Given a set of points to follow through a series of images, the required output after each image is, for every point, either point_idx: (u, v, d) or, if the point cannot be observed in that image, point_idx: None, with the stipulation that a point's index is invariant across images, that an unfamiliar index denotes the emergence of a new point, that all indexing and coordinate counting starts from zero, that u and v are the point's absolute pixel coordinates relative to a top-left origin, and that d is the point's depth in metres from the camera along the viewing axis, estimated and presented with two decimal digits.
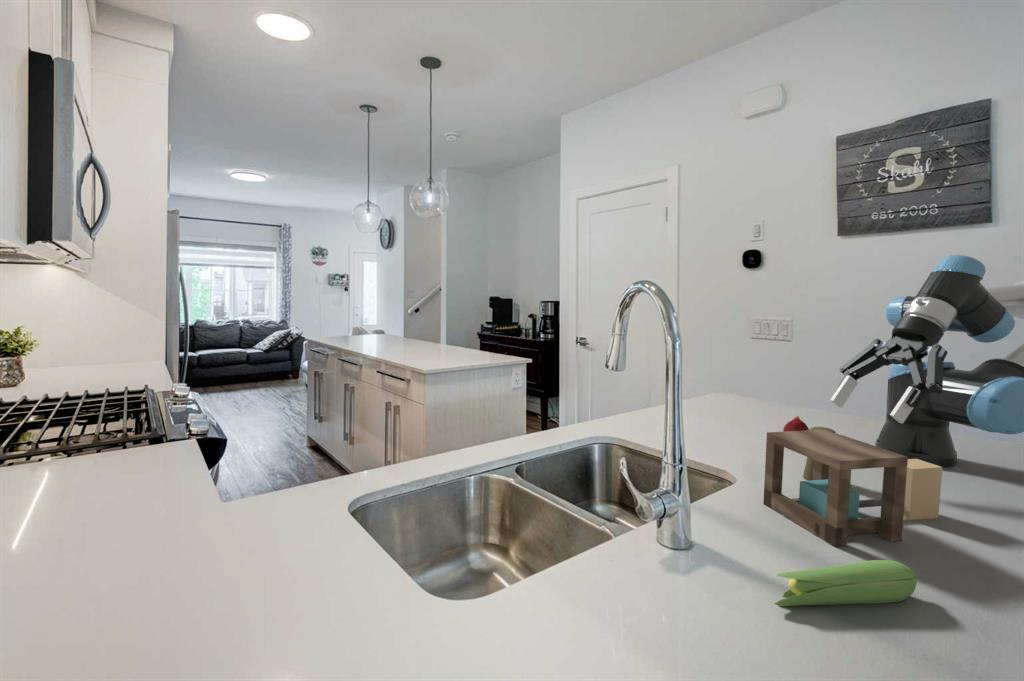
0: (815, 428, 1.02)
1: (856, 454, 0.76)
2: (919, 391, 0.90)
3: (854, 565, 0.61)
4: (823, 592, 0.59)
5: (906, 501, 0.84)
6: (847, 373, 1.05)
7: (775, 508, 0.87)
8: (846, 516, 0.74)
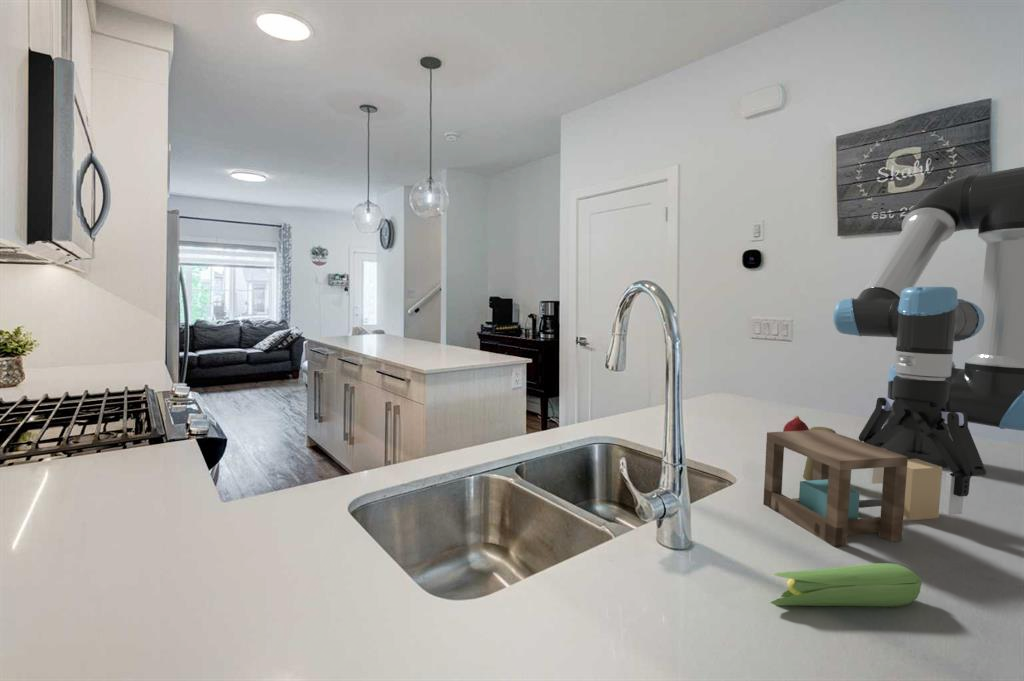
0: (815, 428, 1.02)
1: (856, 454, 0.76)
2: (961, 479, 0.77)
3: (855, 567, 0.61)
4: (821, 593, 0.59)
5: (906, 501, 0.84)
6: None
7: (775, 508, 0.87)
8: (846, 516, 0.74)
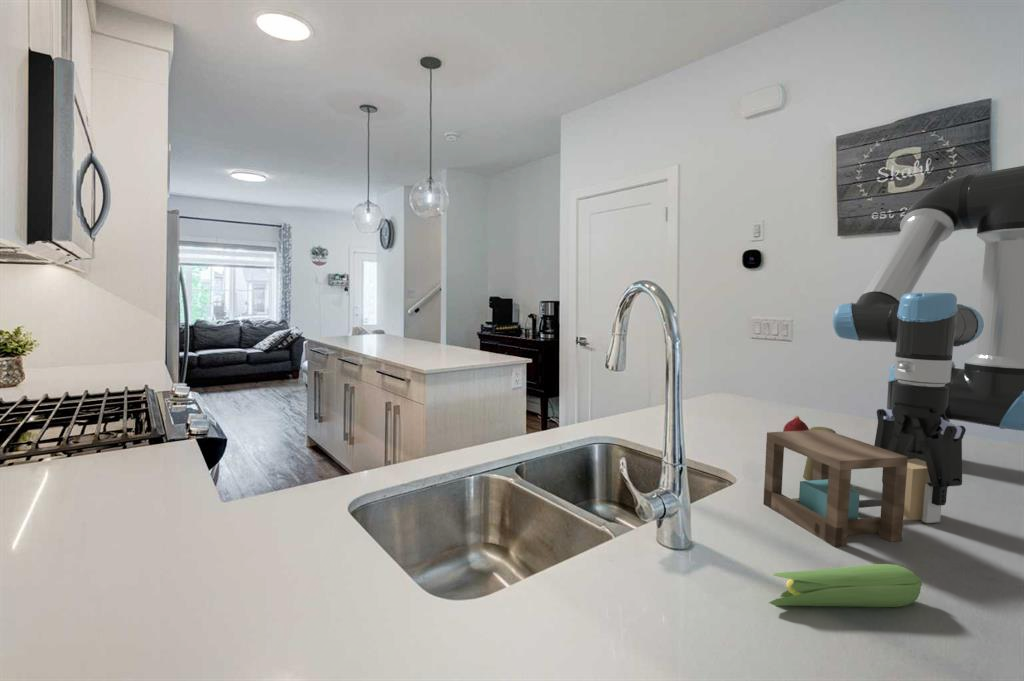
0: (815, 428, 1.02)
1: (856, 454, 0.76)
2: (939, 489, 0.81)
3: (855, 568, 0.61)
4: (820, 593, 0.59)
5: (906, 501, 0.84)
6: None
7: (775, 508, 0.87)
8: (846, 516, 0.74)
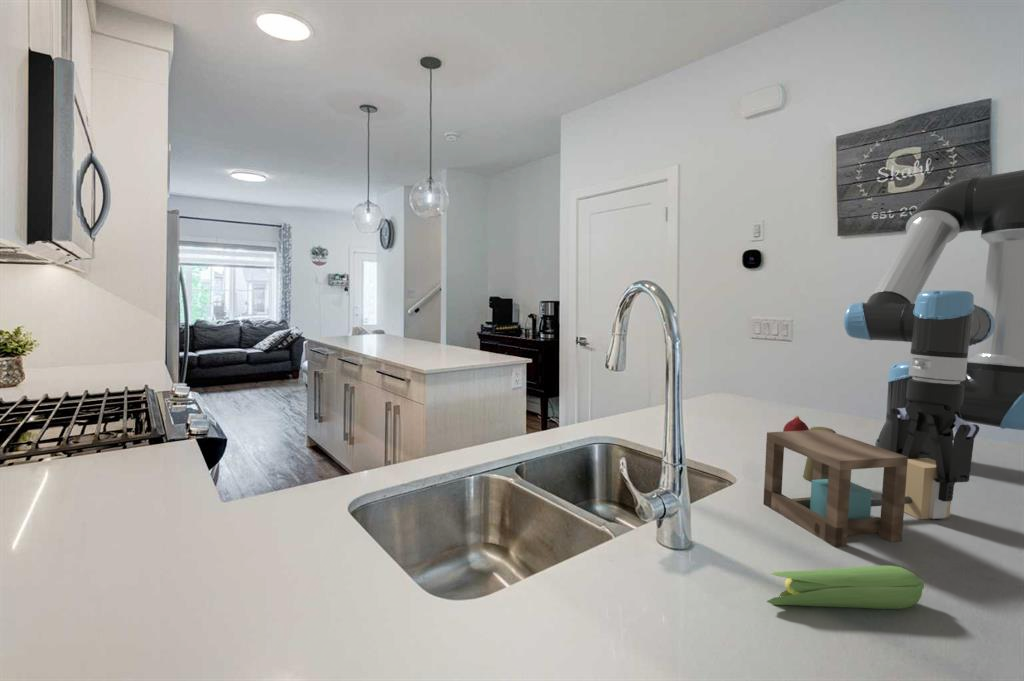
0: (815, 428, 1.02)
1: (856, 454, 0.76)
2: (946, 485, 0.82)
3: (855, 569, 0.61)
4: (818, 593, 0.59)
5: (917, 500, 0.84)
6: None
7: (775, 508, 0.87)
8: (846, 516, 0.74)
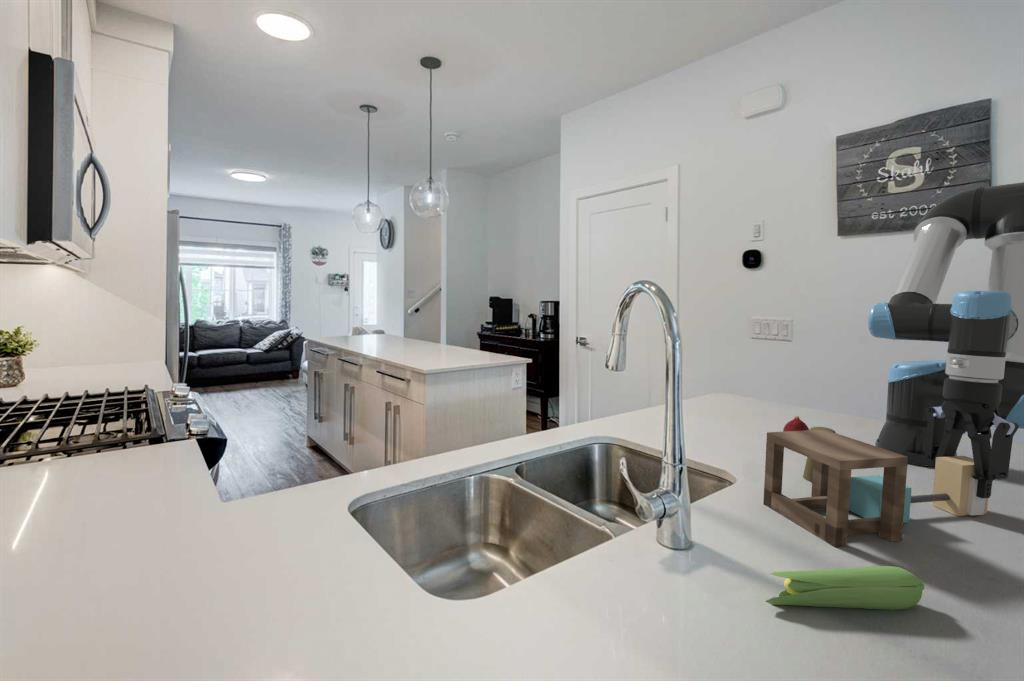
0: (815, 428, 1.02)
1: (856, 454, 0.76)
2: (984, 482, 0.83)
3: (855, 569, 0.61)
4: (817, 593, 0.59)
5: (955, 497, 0.86)
6: None
7: (775, 508, 0.87)
8: (846, 516, 0.74)
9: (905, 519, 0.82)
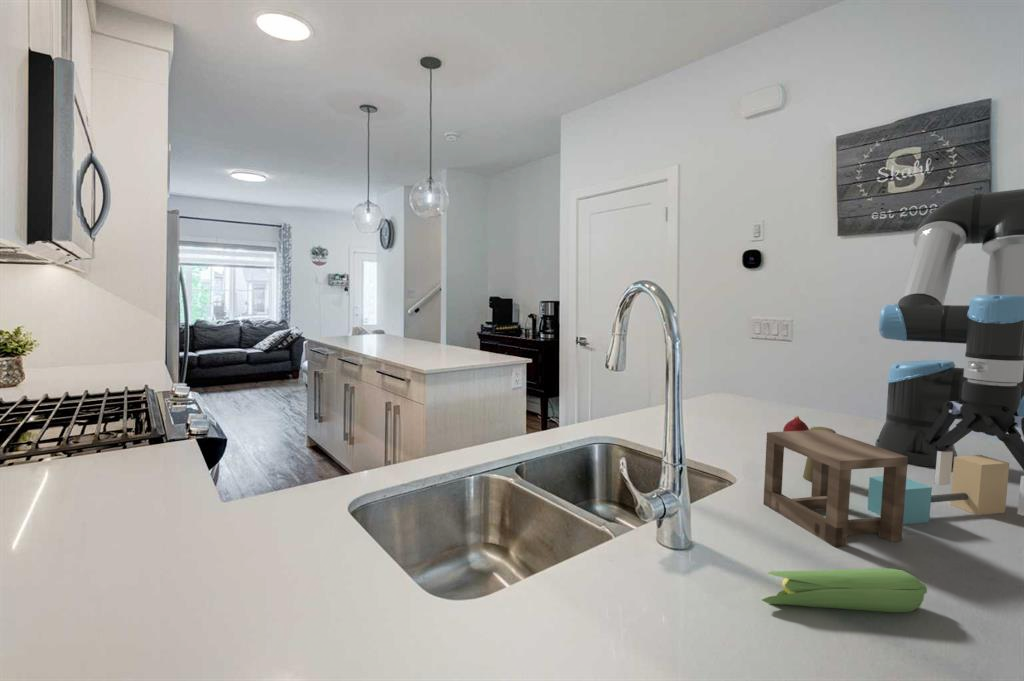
0: (815, 428, 1.02)
1: (856, 454, 0.76)
2: None
3: (854, 570, 0.60)
4: (815, 593, 0.59)
5: (974, 496, 0.86)
6: (936, 448, 0.95)
7: (775, 508, 0.87)
8: (846, 516, 0.74)
9: (925, 519, 0.83)
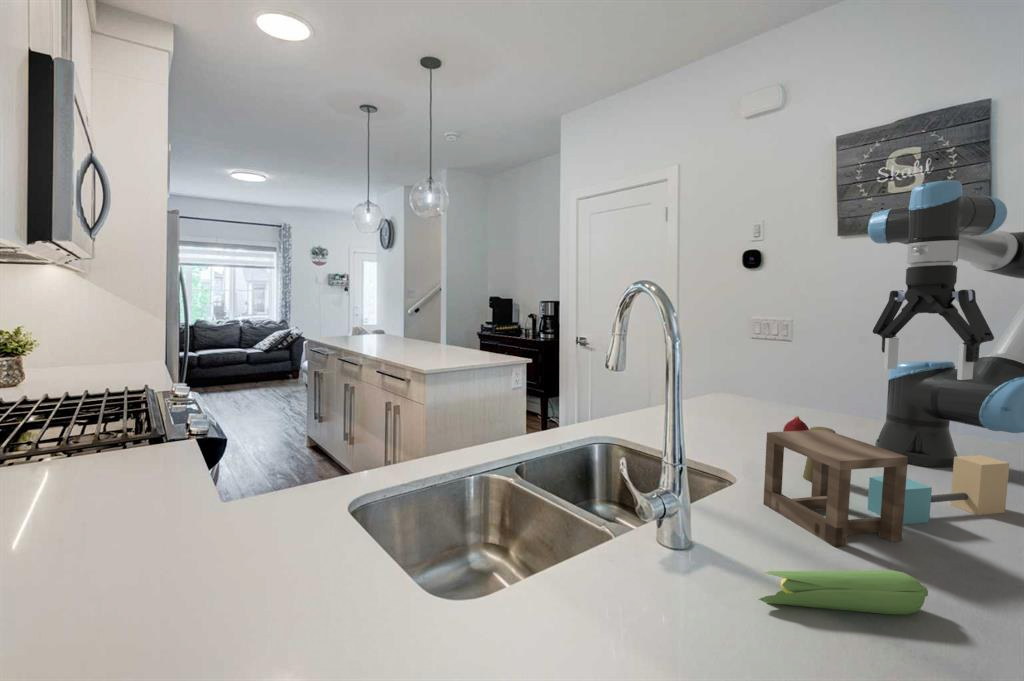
0: (815, 428, 1.02)
1: (856, 454, 0.76)
2: (972, 346, 0.88)
3: (854, 572, 0.60)
4: (813, 594, 0.59)
5: (974, 496, 0.86)
6: (884, 335, 1.03)
7: (775, 508, 0.87)
8: (846, 516, 0.74)
9: (925, 519, 0.83)
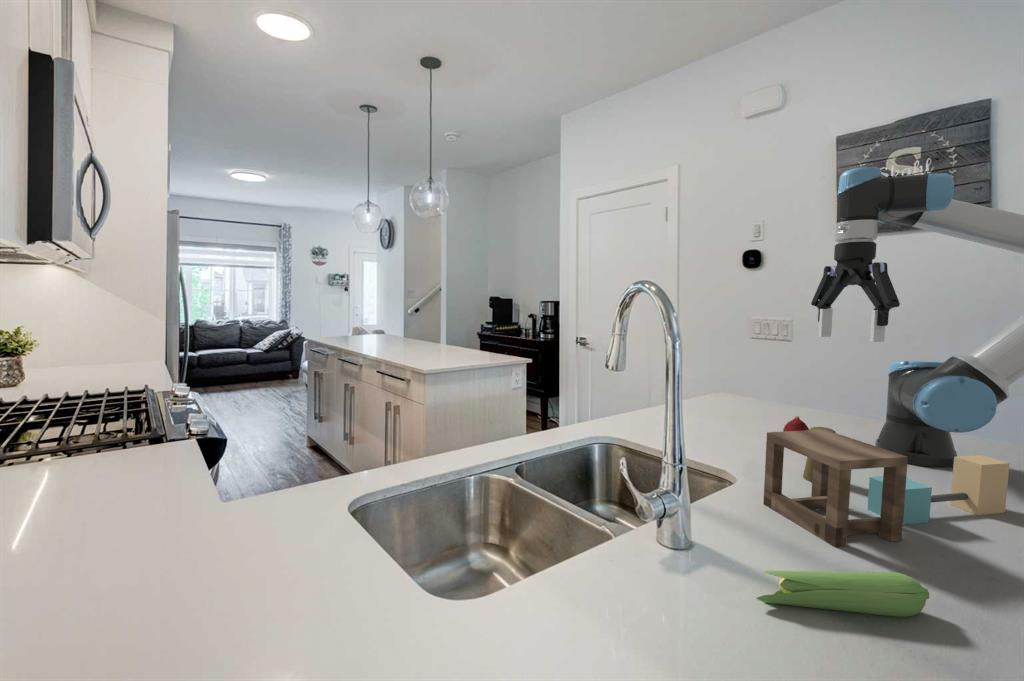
0: (815, 428, 1.02)
1: (856, 454, 0.76)
2: (882, 312, 1.00)
3: (853, 573, 0.60)
4: (810, 594, 0.59)
5: (974, 496, 0.86)
6: (819, 307, 1.15)
7: (775, 508, 0.87)
8: (846, 516, 0.74)
9: (925, 519, 0.83)
